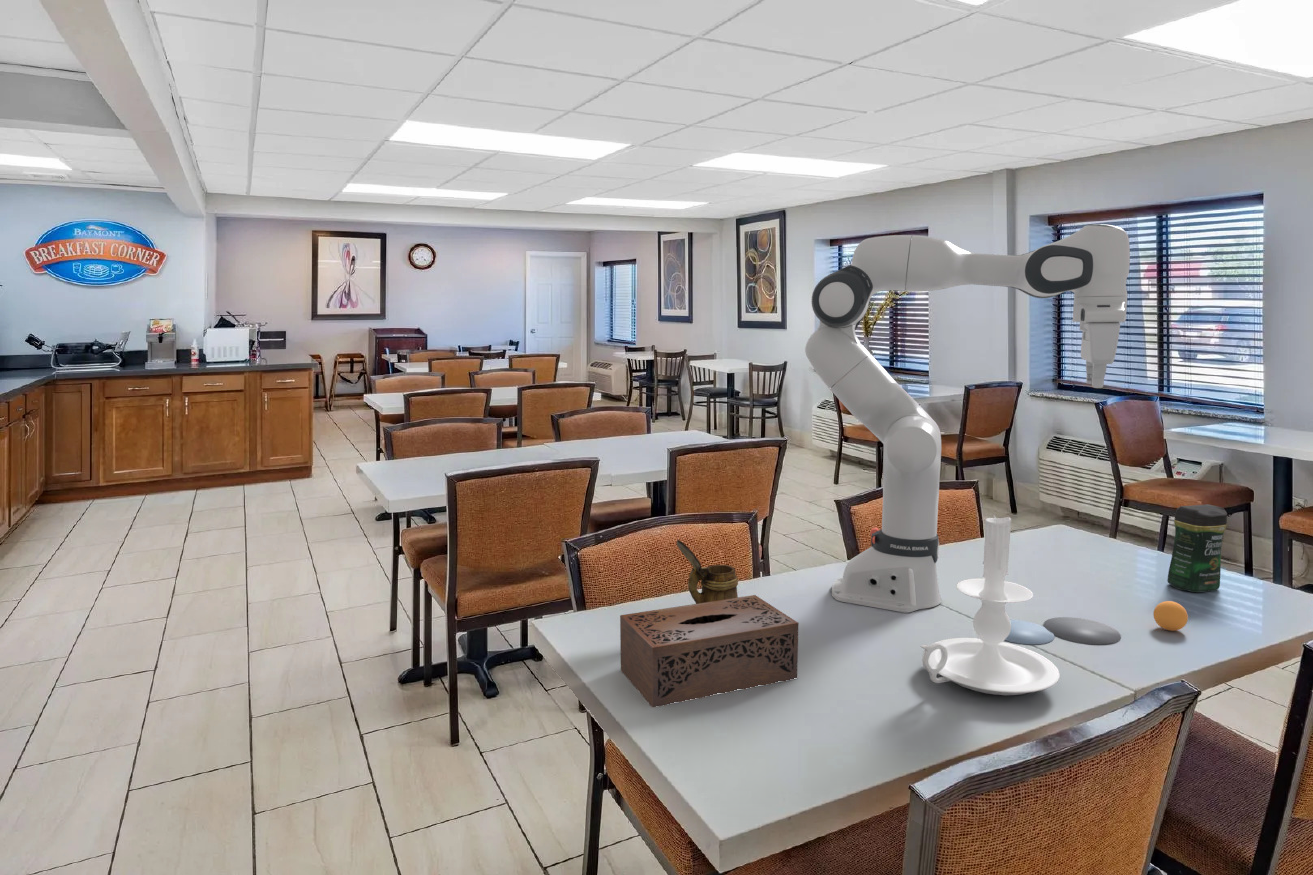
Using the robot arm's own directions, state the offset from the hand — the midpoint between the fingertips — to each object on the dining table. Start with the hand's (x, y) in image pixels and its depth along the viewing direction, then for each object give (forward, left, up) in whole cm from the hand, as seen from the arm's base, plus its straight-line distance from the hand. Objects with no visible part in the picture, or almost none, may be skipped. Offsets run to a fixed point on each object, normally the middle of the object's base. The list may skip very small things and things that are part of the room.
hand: (1094, 385), depth 153 cm
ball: (+15, -3, -43) cm, 46 cm away
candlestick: (-21, -38, -46) cm, 63 cm away
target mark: (-1, -9, -46) cm, 47 cm away
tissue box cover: (-63, -49, -47) cm, 92 cm away
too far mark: (-12, -13, -46) cm, 49 cm away
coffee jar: (+27, +26, -46) cm, 60 cm away
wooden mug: (-69, -28, -46) cm, 87 cm away
